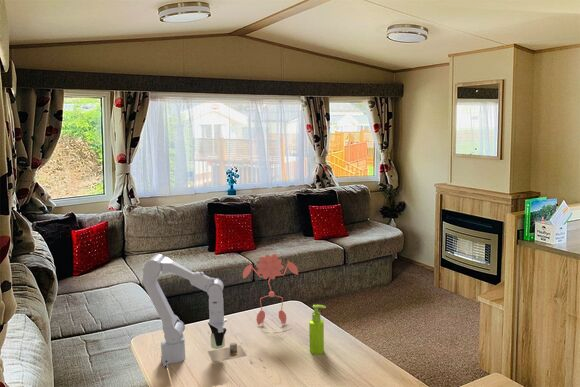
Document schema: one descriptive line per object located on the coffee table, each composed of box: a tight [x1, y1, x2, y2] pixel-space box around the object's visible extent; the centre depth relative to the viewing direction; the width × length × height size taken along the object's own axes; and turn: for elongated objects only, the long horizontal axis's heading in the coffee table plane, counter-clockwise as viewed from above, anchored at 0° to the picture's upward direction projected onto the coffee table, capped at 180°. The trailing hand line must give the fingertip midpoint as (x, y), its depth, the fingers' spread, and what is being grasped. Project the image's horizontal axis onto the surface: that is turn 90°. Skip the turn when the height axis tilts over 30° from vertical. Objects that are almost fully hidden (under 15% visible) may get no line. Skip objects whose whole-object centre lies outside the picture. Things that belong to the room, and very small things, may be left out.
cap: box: [210, 332, 226, 350], centre depth 197 cm, size 5×5×5 cm
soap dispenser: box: [308, 304, 327, 355], centre depth 202 cm, size 6×7×20 cm
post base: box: [207, 342, 247, 363], centre depth 201 cm, size 14×10×4 cm
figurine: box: [242, 253, 299, 334], centre depth 226 cm, size 15×26×35 cm, turn 90°
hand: (217, 342), depth 197 cm, fingers closed on cap, 5 cm apart
